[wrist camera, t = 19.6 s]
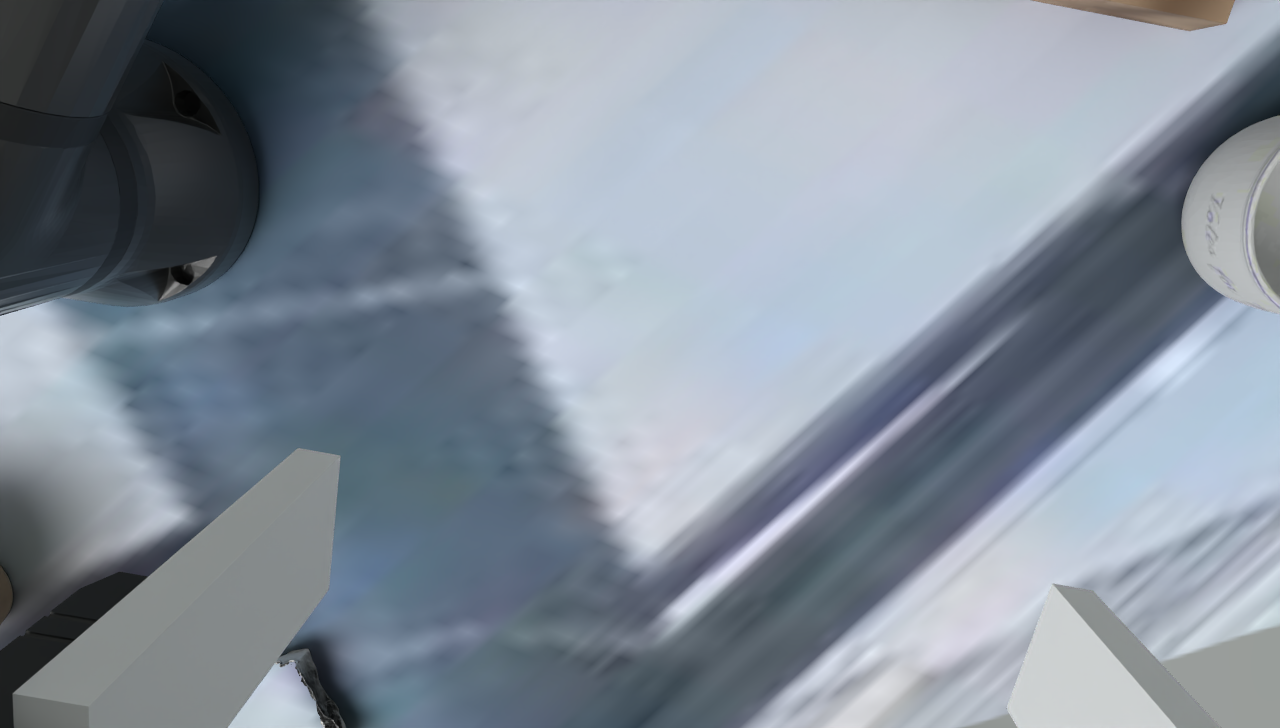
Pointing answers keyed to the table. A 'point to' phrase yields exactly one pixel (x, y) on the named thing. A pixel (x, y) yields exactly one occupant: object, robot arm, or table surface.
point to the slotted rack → (1158, 11)
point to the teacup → (1238, 217)
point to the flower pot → (5, 595)
